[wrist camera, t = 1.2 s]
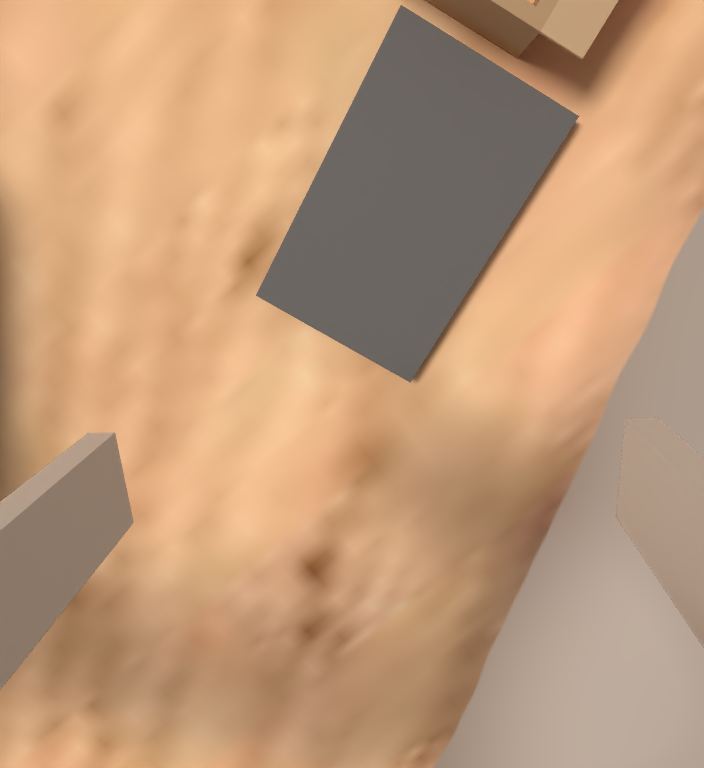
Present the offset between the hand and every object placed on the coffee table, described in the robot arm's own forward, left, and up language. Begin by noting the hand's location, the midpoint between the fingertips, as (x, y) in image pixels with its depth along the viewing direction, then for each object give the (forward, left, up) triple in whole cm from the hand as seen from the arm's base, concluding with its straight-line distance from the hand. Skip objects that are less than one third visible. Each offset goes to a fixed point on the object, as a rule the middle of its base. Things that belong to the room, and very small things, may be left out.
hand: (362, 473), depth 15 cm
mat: (-2, +6, -26) cm, 26 cm away
